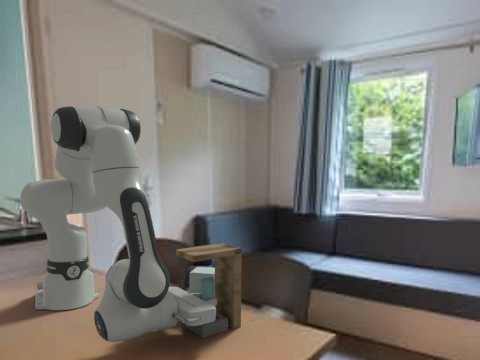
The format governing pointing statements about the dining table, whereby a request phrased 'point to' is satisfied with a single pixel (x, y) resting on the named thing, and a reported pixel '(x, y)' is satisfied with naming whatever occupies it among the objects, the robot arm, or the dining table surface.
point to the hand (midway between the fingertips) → (210, 298)
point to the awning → (222, 277)
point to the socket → (211, 326)
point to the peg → (207, 288)
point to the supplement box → (196, 278)
